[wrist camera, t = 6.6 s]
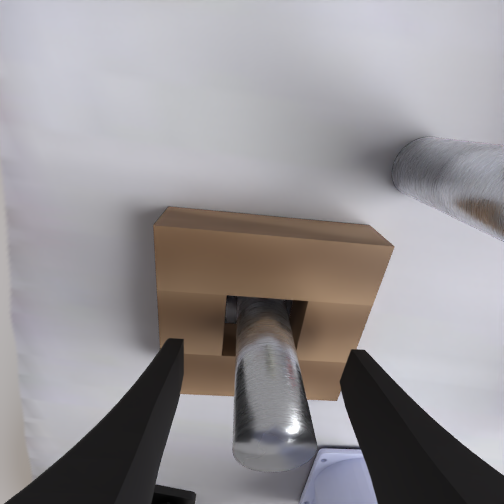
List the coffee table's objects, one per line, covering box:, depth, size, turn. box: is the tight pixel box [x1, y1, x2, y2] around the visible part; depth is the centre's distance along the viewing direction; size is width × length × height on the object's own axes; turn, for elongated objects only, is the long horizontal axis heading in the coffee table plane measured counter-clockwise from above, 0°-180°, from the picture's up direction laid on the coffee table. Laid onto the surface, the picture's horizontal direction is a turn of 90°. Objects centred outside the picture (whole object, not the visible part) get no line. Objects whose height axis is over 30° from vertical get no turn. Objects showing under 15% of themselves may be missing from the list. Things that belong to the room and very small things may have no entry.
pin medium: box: [233, 296, 317, 472], centre depth 12 cm, size 3×3×8 cm
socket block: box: [153, 207, 394, 401], centre depth 15 cm, size 10×10×2 cm
